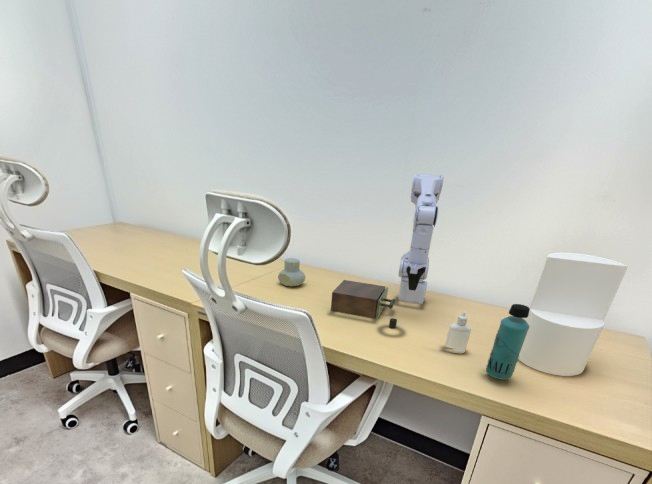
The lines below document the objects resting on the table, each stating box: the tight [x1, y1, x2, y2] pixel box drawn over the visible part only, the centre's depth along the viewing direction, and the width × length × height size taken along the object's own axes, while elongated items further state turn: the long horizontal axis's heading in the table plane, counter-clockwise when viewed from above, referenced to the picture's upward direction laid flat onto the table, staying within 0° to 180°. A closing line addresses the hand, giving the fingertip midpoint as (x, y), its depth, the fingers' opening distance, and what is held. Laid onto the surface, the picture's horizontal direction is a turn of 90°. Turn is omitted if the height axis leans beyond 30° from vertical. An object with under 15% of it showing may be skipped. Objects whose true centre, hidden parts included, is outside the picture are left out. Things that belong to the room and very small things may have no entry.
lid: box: [388, 317, 398, 330], centre depth 122 cm, size 7×7×4 cm
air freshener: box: [277, 257, 306, 288], centre depth 156 cm, size 11×8×10 cm
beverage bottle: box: [485, 303, 530, 380], centre depth 96 cm, size 6×7×20 cm
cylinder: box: [518, 251, 629, 377], centre depth 104 cm, size 17×17×28 cm
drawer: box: [375, 286, 397, 320], centre depth 134 cm, size 18×14×7 cm
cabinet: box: [330, 279, 387, 320], centre depth 135 cm, size 15×14×8 cm
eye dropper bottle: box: [444, 311, 472, 354], centre depth 111 cm, size 4×6×12 cm
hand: (412, 289), depth 127 cm, fingers closed
